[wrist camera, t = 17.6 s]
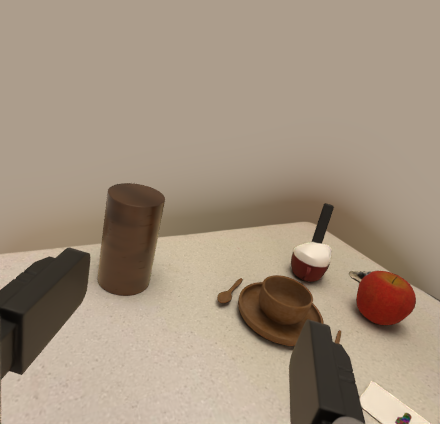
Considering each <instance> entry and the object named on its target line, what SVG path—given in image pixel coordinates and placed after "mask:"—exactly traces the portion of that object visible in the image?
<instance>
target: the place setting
mask: <svg viewBox="0 0 440 424" xmlns="http://www.w3.org/2000/svg"><path fill="white" fill-rule="evenodd" d="M241 282H242V278H240V279H239V280H237V281H236V283H235V284H234V285H233V286H232V287H231V288H230V289H229V290H228V291H225V292H221V293H219V294H218V297H217V299H218V301H219V302H220V303H227V302H229V301H230V300H231V298H232V295H231V292H232V291H233V290H234V289H235V288H236V287H237V286H238V285H239V284H240V283H241ZM312 302H313V297H312V294H311V293H310V291H309V290H308V289H307V288H306V287H305V286H304V285H303V284H301V283H300V282H298V281H296V280H294V279H292V278H289V277H285V276H278V275H276V276H270V277H267V278H266V279H265V280H264V281H263V282H258V283H253V284H250V285H248V286H246V287H245V288H244V289H243V290H242V291H241V293H240V296H239V301H238V305H239V310H240V313H241V315H242V317H243V319H244V320H245V322H246V323H247V324H248V325H249V326H250V327H251V328H252V329H253V330H254V331H255V332H256V333H258V334H259V335H261V336H262V337H264V338H266V339H268V340H270V341H272V342H275V343H278V344H282V345H287V346H295V345H296V342H297V340H298V338H299V335H300V333H301V331H302V328H303V326H304V324H305V322H306V320H307V319H309V320H312V321H316V322H319V323H322V324H323V318H322V316H321V314H320V312H319V310H318V309H317V307H316V306H315V305H314V304H313V303H312ZM340 337H341V331H340V330H339V331H338V334H337V337H336V341H335V343H337V344H339V342H340Z"/></svg>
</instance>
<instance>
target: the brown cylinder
mask: <svg viewBox="0 0 440 424" xmlns="http://www.w3.org/2000/svg"><path fill="white" fill-rule="evenodd" d="M164 202H165V197H164V196H163V194H162V193H160V192H159V191H157V190H155V189H153V188H151V187H148V186H144V185H139V184H130V183H125V184H117V185H114V186H112V187H110V188H109V189H108V194H107V202H106V210H105V219H104V227H103V236H102V244H101V252H100V261H99V269H98V278H97V280H98V283H99V285H100V286H101V287H102V288H103V289H104V290H106V291H108V292H110V293H112V294H116V295H123V296H128V295H135V294H138V293H141V292H142V291H144V290H145V289H146V288H147V287H148V285H149V281H150V276H151V271H152V265H153V260H154V255H155V249H156V244H157V239H158V234H159V228H160V223H161V217H162V212H163V207H164Z"/></svg>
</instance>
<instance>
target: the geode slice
mask: <svg viewBox="0 0 440 424" xmlns="http://www.w3.org/2000/svg"><path fill="white" fill-rule="evenodd" d="M369 273H371V272H366V271H363V272H362V271H360V272H358V271H351V272H350V273H349V274H350V276H351V277H352V278H355V279H357V280H358V281H359V282H361V280H362V279H363V278H364V277H365V276H366V275H368V274H369Z"/></svg>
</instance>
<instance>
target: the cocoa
mask: <svg viewBox="0 0 440 424" xmlns="http://www.w3.org/2000/svg"><path fill="white" fill-rule="evenodd" d="M333 208H334V207H333V206H332V205H330V204H324V206H323V209H322V212H321V215H320V218H319V221H318V224H317V227H316V230H315V233H314V236H313V239H312V242H308V243H304V244H301V245H298V246H296V247H295V248H294V252H293V254H292V259H291V267H292V271H293V273H294V274H295V275H296V276H297V277H298V278H300V279H302V280H304V281H309V282H312V281H317V280H319V279H321V277H322V276H323V275H324V273H325V272H326V271H327V269H328V267H329V263H330V259H331V253H332V250H331V248H330V246H328V245H326V244H322V241H323V238H324V235H325V232H326V229H327V226H328V223H329V220H330V217H331V214H332V211H333Z"/></svg>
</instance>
